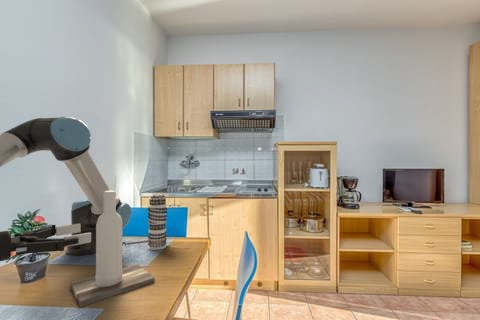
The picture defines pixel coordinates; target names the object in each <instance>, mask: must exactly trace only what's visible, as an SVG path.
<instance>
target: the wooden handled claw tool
mask: <svg viewBox="0 0 480 320" xmlns="http://www.w3.org/2000/svg"><path fill="white" fill-rule="evenodd" d="M143 243H149V242H148V239H146V240H140V241H139V240H138V241H131V242H130V241H129V242H127V243H126V242H125V241H122V247H123V245H124V246H125V247H127V245H133V244H135V245H136V244H143Z"/></svg>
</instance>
